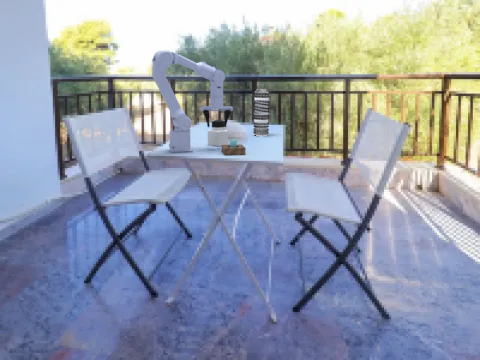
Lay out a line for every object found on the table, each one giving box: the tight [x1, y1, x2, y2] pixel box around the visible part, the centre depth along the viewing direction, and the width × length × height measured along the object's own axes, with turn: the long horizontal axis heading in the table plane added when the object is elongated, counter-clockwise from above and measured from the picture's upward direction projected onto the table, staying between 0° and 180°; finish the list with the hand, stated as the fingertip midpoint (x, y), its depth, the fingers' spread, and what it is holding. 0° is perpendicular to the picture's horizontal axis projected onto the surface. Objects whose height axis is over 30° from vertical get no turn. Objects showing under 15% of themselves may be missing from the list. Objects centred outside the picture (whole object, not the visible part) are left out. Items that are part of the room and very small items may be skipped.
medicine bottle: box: [207, 119, 229, 147], centre depth 225 cm, size 7×7×12 cm
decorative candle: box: [252, 88, 271, 137], centre depth 255 cm, size 9×9×25 cm
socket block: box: [221, 143, 247, 156], centre depth 205 cm, size 9×9×3 cm
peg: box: [229, 138, 238, 147], centre depth 205 cm, size 3×3×6 cm
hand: (216, 126), depth 215 cm, fingers open, 7 cm apart
